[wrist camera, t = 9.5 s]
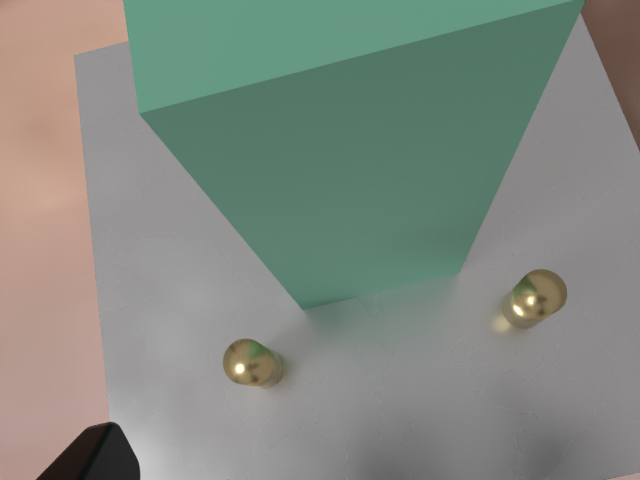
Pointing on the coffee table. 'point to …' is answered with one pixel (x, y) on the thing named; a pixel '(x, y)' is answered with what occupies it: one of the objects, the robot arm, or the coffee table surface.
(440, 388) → the chassis
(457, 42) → the green block
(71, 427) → the coffee table surface
